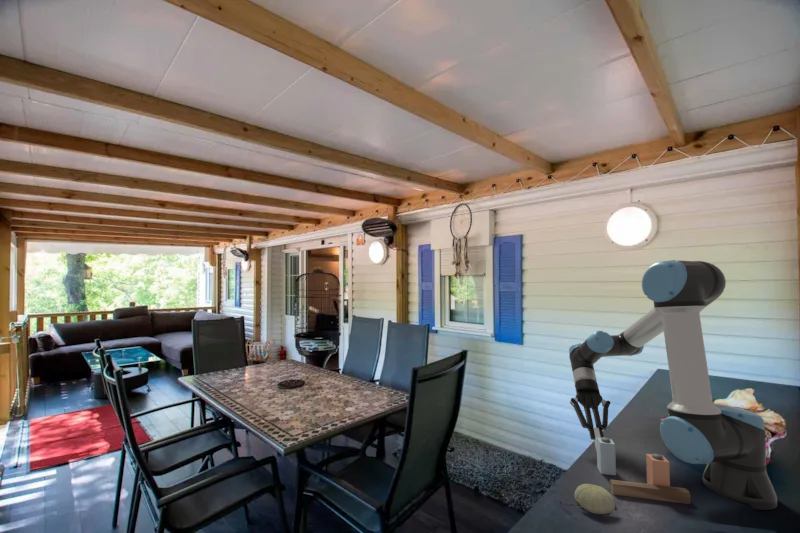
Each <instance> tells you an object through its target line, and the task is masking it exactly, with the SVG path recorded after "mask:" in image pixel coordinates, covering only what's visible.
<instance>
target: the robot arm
mask: <svg viewBox="0 0 800 533" xmlns="http://www.w3.org/2000/svg"><path fill="white" fill-rule="evenodd" d="M726 283H727V280H726V278H725V274H724V272H723V271H722V269H720V268H719V267H718V266H716V265H715V264H713V263H710V262H708V261H702V260H694V261H693V260H676V259H672V260H664V261H663V260H661V261H660V260H659V261H657V262H655V263H653V264H651V265H650V266H649V267H647V270H645V271H644V274H643V276H642V279H641V290H642V292H643V294H644V296H646V297H647V299H649V300H650V301H652V302H653V308H651V309H650V310H649V311H647V312H646V313H644V315H642V316H641V317H640V318H639V319H637V320H636V321H635V322H634V323H632V324H631V325H630V326H629V327H627V328H626V329H625V330H623V331H622V332H620V333H619V334H617V335H616V334H615V335H611V334H609V333H608V332H606V331H603V330H596V331H594V332H593V333H592V334H590V335H589V336H588V337H587V338H586V339H585V341H583V343H580V342H579V343H575V344H572V345H570V347H569V349H568V353H569V361H570V365H571V366H570V367H571V370H572V375H573V381H574V386H575V393H576V395H575V397H571V398H570V401H569V404H570V405H571V406H572V407H573V409H574V411H575V413H576V415H577V416H576V417H577V418H578V420H579V422H580V425H581V427H582V428H583V429H587V431H588V432H589V436H590V437H589V438H590V439H591V440H593V441H594V446H595V451H596V452H597V438H601V437H605V436H604V432H603V431H606V430H607V428H608V425H609V424H608V423H609V422H608V421H609V407H610V406H611V405H610V404H611V401H610V400H605V399H604V398H603V396H602V394H600V389H599V384H598V380H597V376H596V372H595V371H596V370H595V368H594V365H595V363H596V362H598V361H599V360H600V359H601V358H604V357H622V356H623V357H625V356H627V357H629V356H630V357H631V356H635V355H636V356H637V355H640V354H641V353H643V350H644V346H645V345H646V344H648V343H649V342H651V341H652V340H654V339H655V338H656V337H658V336H659V335H661V334H664V343H665V344H664V345H665V350H666V358H667V365H668V372H669V380H670V387H671V396H672V401H671V402H669V404H667V405H666V407H667V414H668V415H667V417H665V418H663V420H662V421H661V422H660V425H659V433H660V436H661V439H662V441H663V443H664V444H665V446H666V448H667V449H669V450H670V451H671V453H672V454H673V455H674V456H675V457H676V458H677V459H679V460H680V461H683V462H684V463H687V464H692V465H706V466H705V468H704V471H703V474H702V478H701V479H702V482H703V484H704V486H706V487H707V488H708V489H709V490H711V491H713V492H714V493H716V494H719V495H721V496H722V497H725V498H728V499H730V500H733V501H737V502H740V503H744V504H748V505H749V506H750V507H751V508H752V509H753V510H760V511H768V510H769V511H770V510H774V509H777V507H778V496H777V493H776V490H775V488H774V486H773V483H772V482H771V480H770V476H769V475H768V472H767V453H766V448H767V447H766V429H765V423H764V421H765V420H764V419H763V417H762V416H761V415H760V414H757V413H755V412H753V411H749V410H746V409H743V408H739V407H735V406H730V405H724V404H718V403H714V402H713V397H712V396H713V395H712V389H711V383H710V382H711V381H710V376H709V370H708V364H707V363H708V362H707V356H706V351H705V350H706V348H705V342H704V335H703V329H702V322H701V316H700V315H701V314H700V313H701V312H702V311H703V310H704V309H705V308H706V307H708V306H709V305H711V304H712V303H713V302H714V301H716V300H717V299H718V298H719V297H720V296H721V295H722V294H723V293H724V291H725V288H726ZM579 404H580V405H581V406H582V407H583V410H584V411H582V409H581V407H580V405H579ZM600 405H602V419H601V416H600V411H599V406H600ZM591 409H592V413H593V416H592V413H591ZM583 412H584V413H585V415H584V414H583ZM592 417H593V418H592ZM593 419H594V422H595V423H593ZM601 420H602V421H601ZM594 424H595V427H594Z"/></svg>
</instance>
